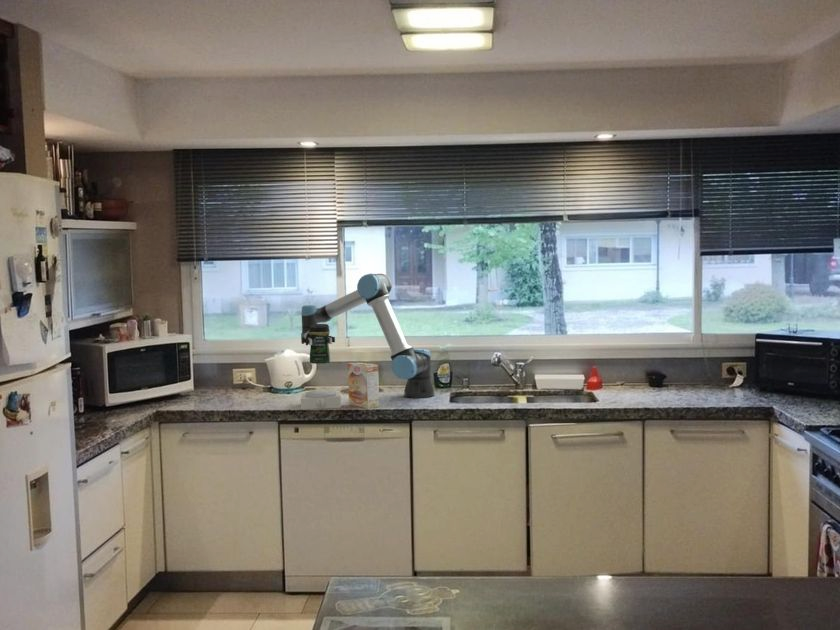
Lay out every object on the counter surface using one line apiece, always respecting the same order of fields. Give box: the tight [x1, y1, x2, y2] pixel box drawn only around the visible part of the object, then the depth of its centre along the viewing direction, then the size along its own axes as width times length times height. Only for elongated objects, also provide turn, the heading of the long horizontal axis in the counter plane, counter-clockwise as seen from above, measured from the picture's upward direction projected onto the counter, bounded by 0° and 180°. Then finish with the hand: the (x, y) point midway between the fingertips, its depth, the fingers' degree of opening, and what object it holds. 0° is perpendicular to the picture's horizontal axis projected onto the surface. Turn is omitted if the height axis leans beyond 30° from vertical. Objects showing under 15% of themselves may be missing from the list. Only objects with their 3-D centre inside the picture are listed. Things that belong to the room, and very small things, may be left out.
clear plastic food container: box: [300, 389, 342, 410], centre depth 355 cm, size 18×16×6 cm
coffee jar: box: [309, 323, 331, 365], centre depth 360 cm, size 10×8×19 cm
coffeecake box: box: [347, 361, 380, 409], centre depth 354 cm, size 15×7×20 cm, turn 40°
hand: (321, 341), depth 355 cm, fingers closed on coffee jar, 9 cm apart
